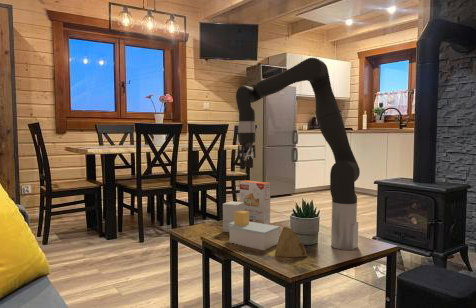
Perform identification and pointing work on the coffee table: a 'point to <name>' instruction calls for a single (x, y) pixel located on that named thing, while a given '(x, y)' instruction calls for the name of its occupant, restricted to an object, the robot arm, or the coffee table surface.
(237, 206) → the supplement box
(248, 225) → the lid
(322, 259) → the coffee table surface
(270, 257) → the coffee table surface
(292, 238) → the rock
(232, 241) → the tub
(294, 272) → the coffee table surface
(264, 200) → the cracker box
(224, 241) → the coffee table surface
